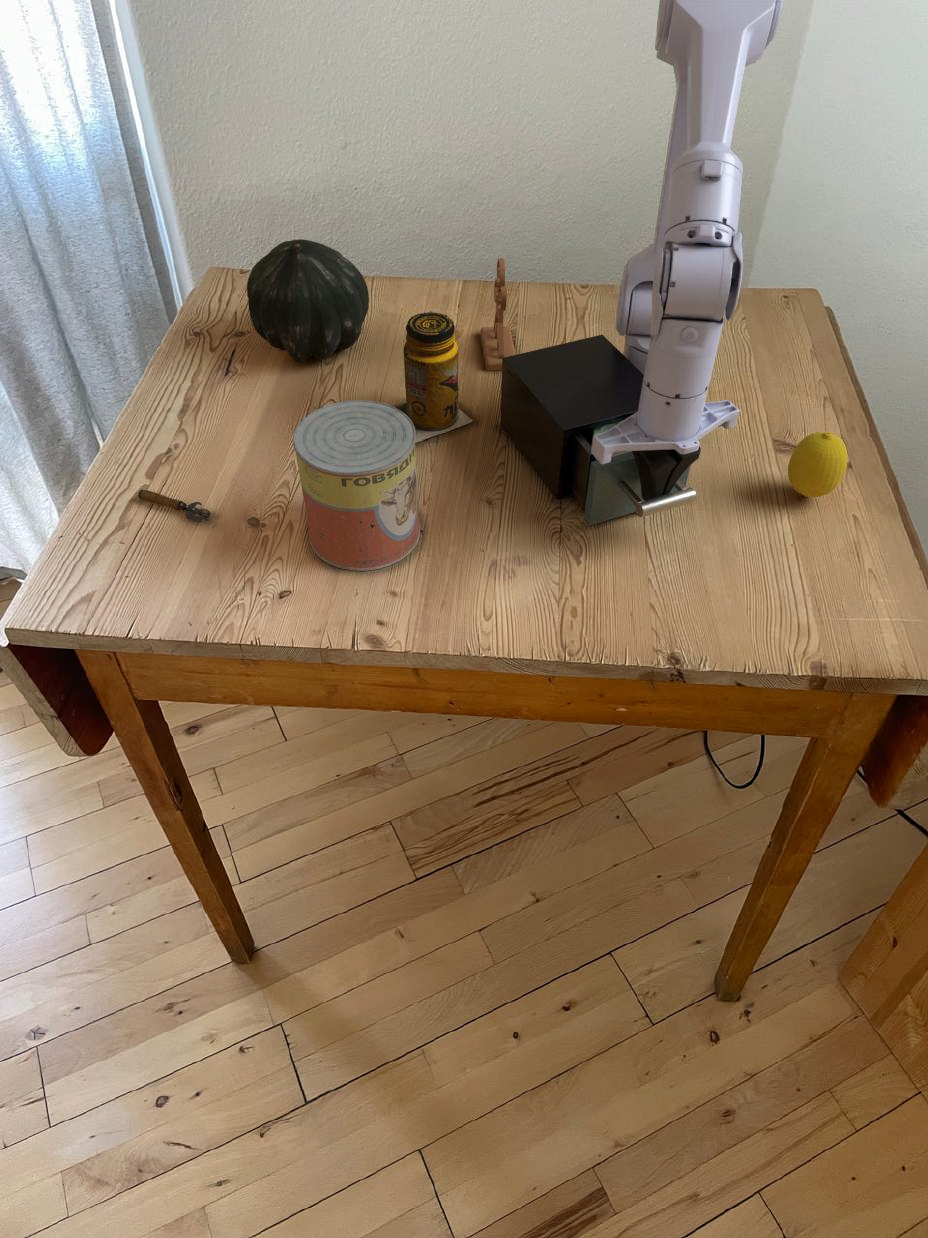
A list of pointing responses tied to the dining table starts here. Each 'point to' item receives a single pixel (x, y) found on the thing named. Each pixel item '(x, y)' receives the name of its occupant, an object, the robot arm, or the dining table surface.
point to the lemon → (817, 464)
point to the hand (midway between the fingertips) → (652, 500)
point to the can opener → (176, 505)
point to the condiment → (431, 376)
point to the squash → (307, 299)
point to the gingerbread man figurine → (497, 327)
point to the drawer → (614, 484)
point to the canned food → (359, 483)
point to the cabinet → (564, 400)
